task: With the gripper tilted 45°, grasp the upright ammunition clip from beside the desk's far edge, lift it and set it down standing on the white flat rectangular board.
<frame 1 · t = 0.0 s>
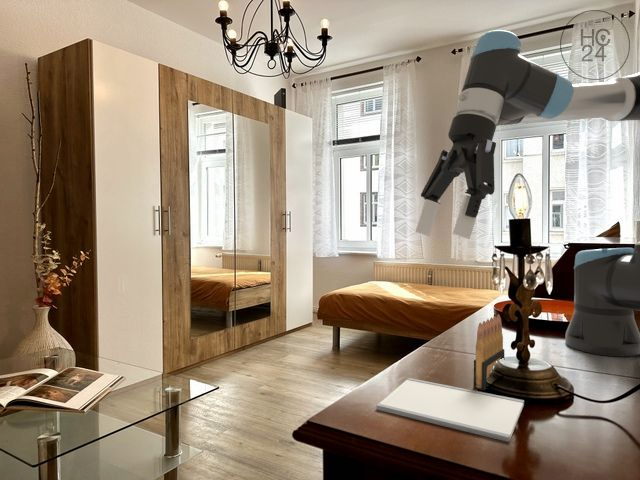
hand: (440, 235, 76), 28 cm above the table, tool tilted 20°, fingers open, 13 cm apart
white flat rectangular board: (450, 406, 70), on the table
ammunition clip: (489, 382, 81), on the table
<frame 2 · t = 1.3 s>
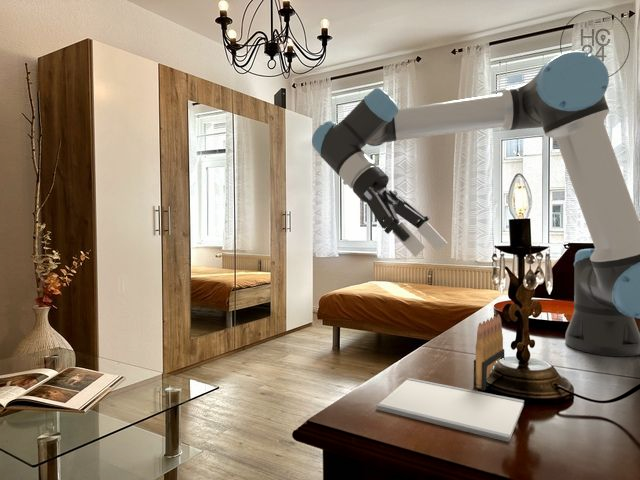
hand: (432, 249, 86), 25 cm above the table, tool tilted 45°, fingers open, 13 cm apart
nothing on the table moved.
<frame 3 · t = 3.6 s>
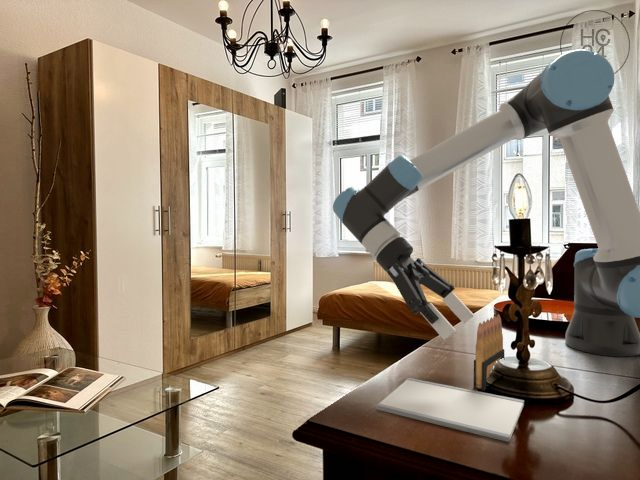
hand: (460, 327, 83), 10 cm above the table, tool tilted 45°, fingers open, 13 cm apart
nothing on the table moved.
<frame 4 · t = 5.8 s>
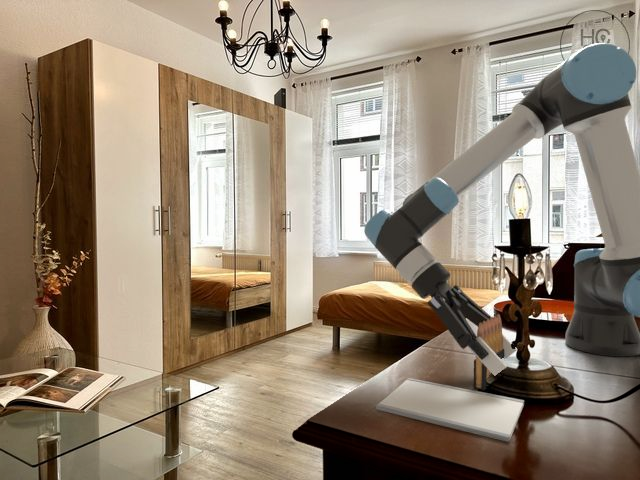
hand: (506, 362, 80), 4 cm above the table, tool tilted 45°, fingers closed on ammunition clip, 10 cm apart
ammunition clip: (489, 381, 81), on the table, touching gripper
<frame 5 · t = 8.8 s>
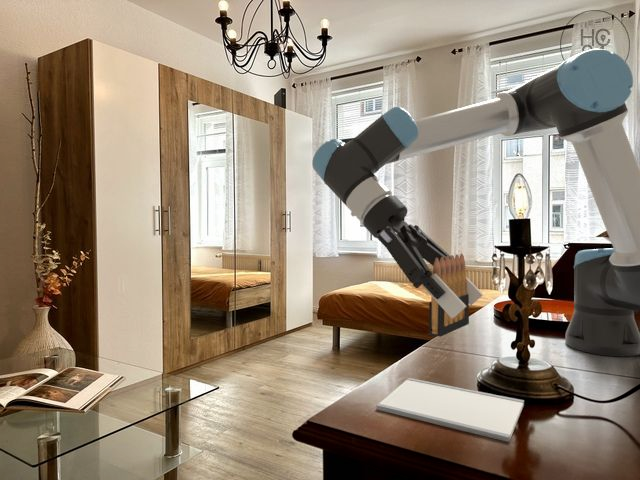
hand: (468, 306, 68), 17 cm above the table, tool tilted 45°, fingers closed on ammunition clip, 10 cm apart
ammunition clip: (449, 330, 70), point 13 cm above the table, touching gripper
when the fingers open (6 cm above the table, at t = 11.9 s): ammunition clip stays where it is, resting on white flat rectangular board.
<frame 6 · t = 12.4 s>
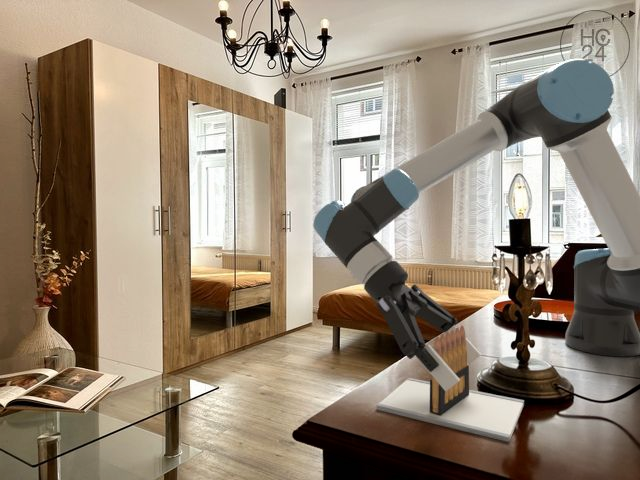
hand: (465, 371, 69), 6 cm above the table, tool tilted 45°, fingers open, 13 cm apart
ammunition clip: (450, 404, 71), resting on white flat rectangular board
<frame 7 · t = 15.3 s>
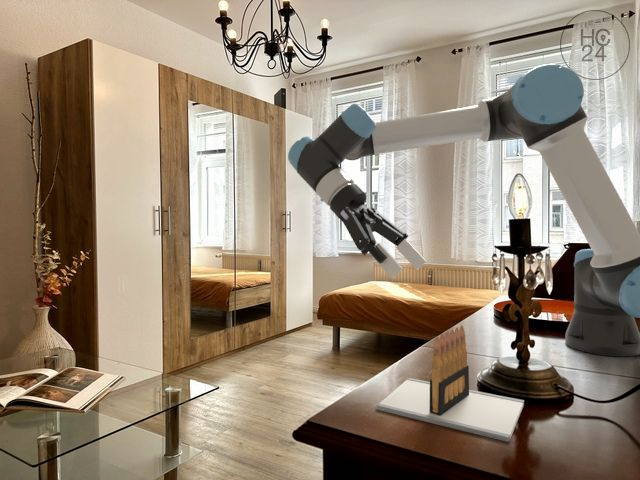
hand: (410, 269, 84), 21 cm above the table, tool tilted 45°, fingers open, 13 cm apart
nothing on the table moved.
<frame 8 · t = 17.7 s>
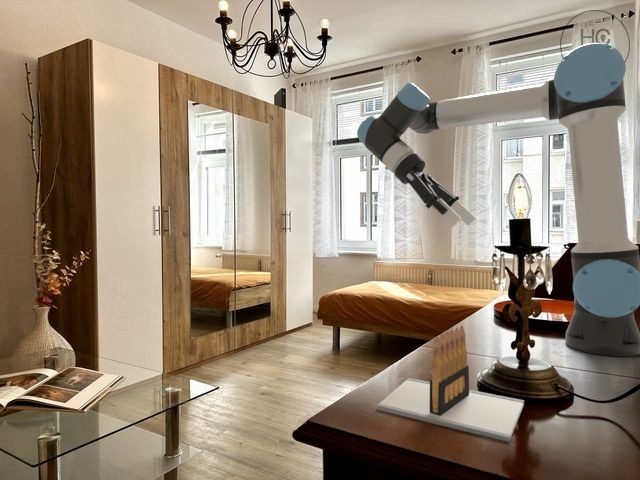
hand: (464, 222, 102), 30 cm above the table, tool tilted 45°, fingers open, 13 cm apart
nothing on the table moved.
at the end: ammunition clip 0.1 cm from the white flat rectangular board (horizontally); ammunition clip touching white flat rectangular board; the gripper is holding nothing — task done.
